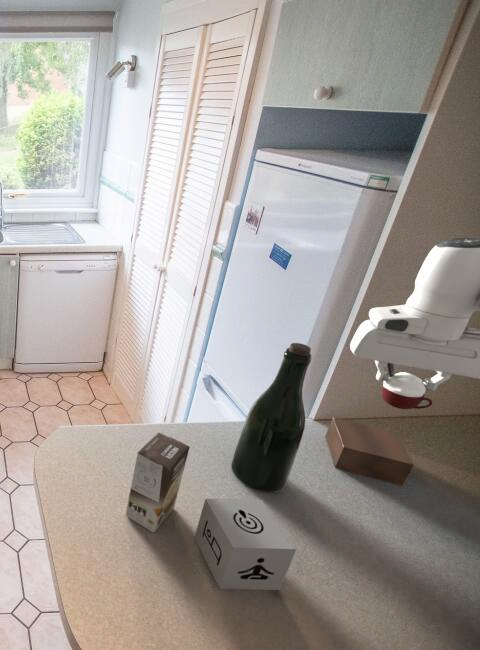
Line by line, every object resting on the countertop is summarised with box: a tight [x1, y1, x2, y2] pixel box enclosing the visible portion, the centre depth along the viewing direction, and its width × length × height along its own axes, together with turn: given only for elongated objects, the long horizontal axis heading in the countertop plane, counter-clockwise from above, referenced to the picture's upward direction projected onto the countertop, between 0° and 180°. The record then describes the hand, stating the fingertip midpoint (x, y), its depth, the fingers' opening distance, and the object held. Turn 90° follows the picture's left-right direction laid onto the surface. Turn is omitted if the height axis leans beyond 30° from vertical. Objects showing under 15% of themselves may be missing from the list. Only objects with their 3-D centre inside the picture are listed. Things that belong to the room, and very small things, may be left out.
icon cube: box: [194, 498, 297, 591], centre depth 79 cm, size 10×10×10 cm
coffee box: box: [124, 432, 191, 533], centre depth 88 cm, size 9×6×16 cm
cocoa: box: [381, 363, 433, 410], centre depth 91 cm, size 10×6×12 cm, turn 6°
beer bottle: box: [230, 342, 313, 493], centre depth 94 cm, size 10×10×33 cm
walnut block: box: [324, 416, 414, 487], centre depth 104 cm, size 12×12×6 cm
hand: (403, 384), depth 91 cm, fingers closed on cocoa, 6 cm apart
